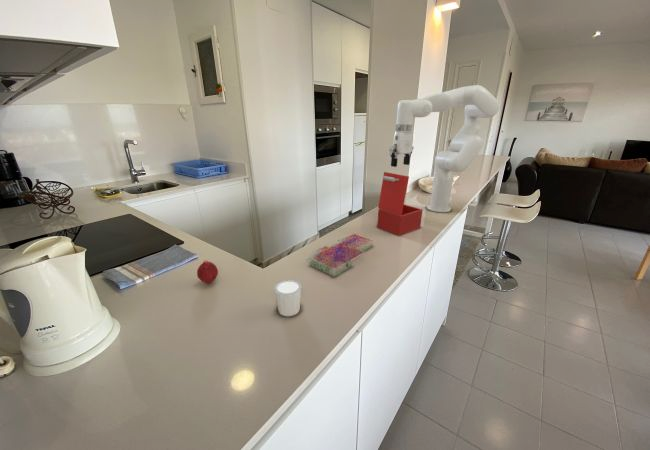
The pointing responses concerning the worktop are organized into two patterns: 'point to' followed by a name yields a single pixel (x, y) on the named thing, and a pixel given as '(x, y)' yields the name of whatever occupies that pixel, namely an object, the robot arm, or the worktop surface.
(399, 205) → the lid
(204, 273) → the onion
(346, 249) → the confetti patterned tile
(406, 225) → the red box
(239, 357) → the worktop surface
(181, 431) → the worktop surface
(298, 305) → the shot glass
